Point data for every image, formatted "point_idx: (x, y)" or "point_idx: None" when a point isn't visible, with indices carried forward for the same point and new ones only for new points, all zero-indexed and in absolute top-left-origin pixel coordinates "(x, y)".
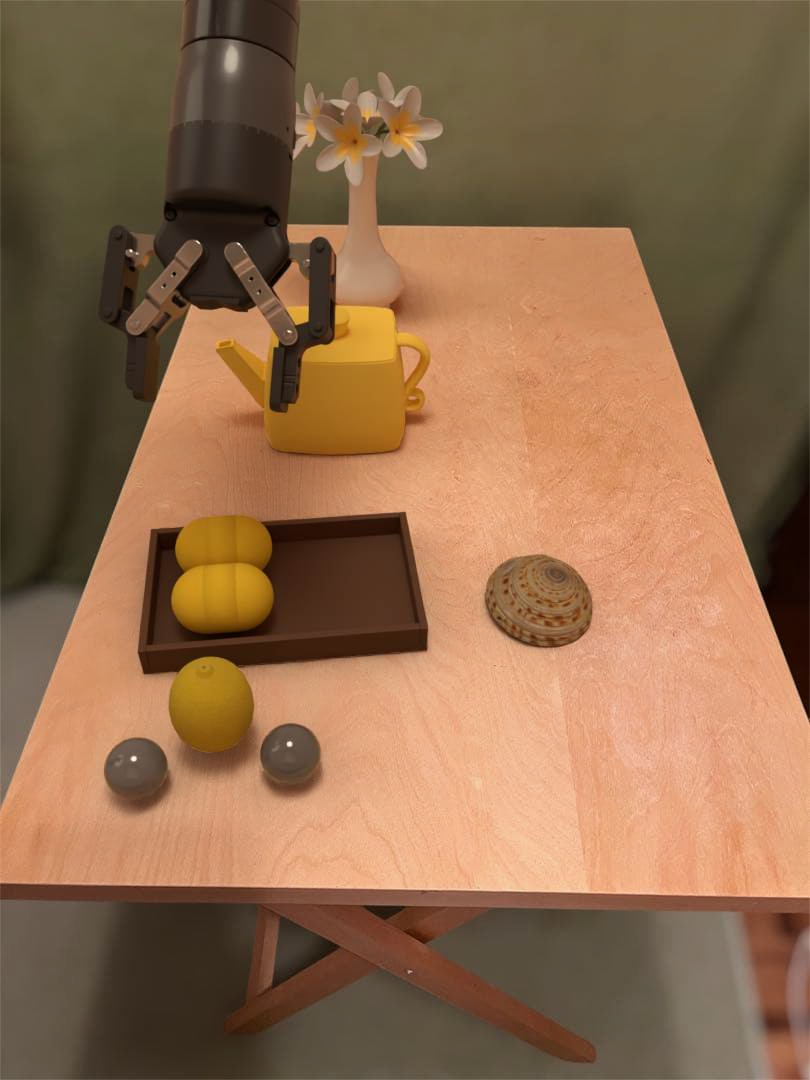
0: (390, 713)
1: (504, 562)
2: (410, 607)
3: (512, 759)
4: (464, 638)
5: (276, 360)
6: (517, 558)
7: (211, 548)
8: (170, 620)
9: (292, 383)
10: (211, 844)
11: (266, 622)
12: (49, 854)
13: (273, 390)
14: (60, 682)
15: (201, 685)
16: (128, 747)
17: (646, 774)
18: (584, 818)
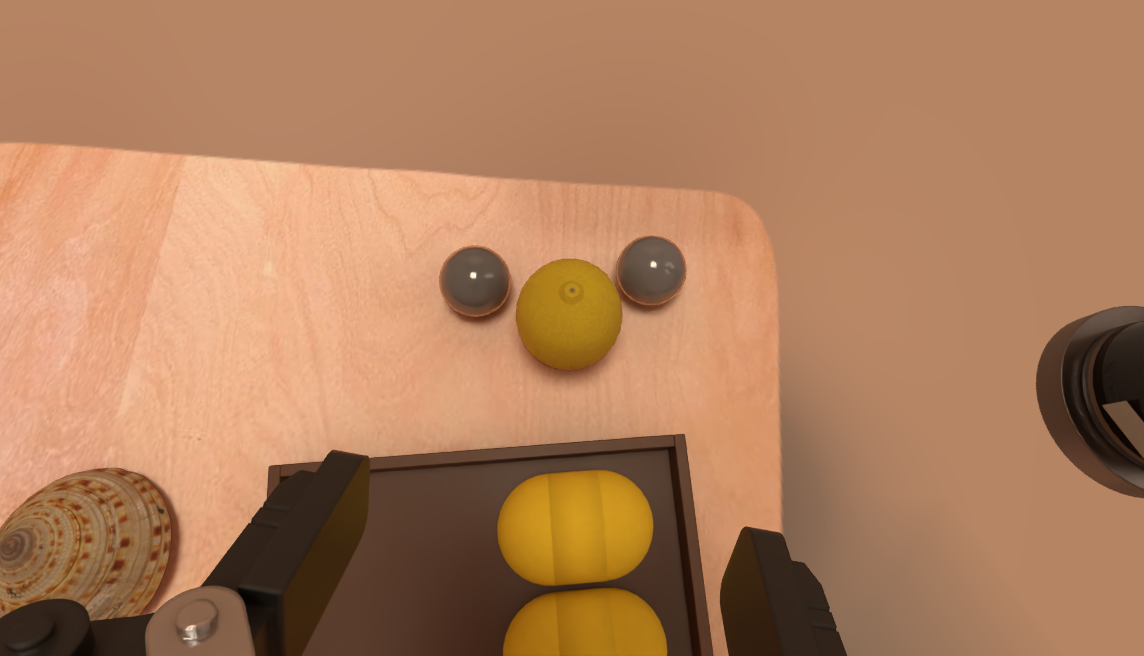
0: (355, 366)
1: None
2: None
3: (219, 296)
4: (229, 491)
5: (291, 548)
6: None
7: (600, 610)
8: (655, 528)
9: (271, 507)
10: (562, 215)
11: None
12: (721, 213)
13: (339, 480)
14: (778, 430)
15: (574, 274)
16: (660, 262)
17: (65, 270)
18: (161, 222)
